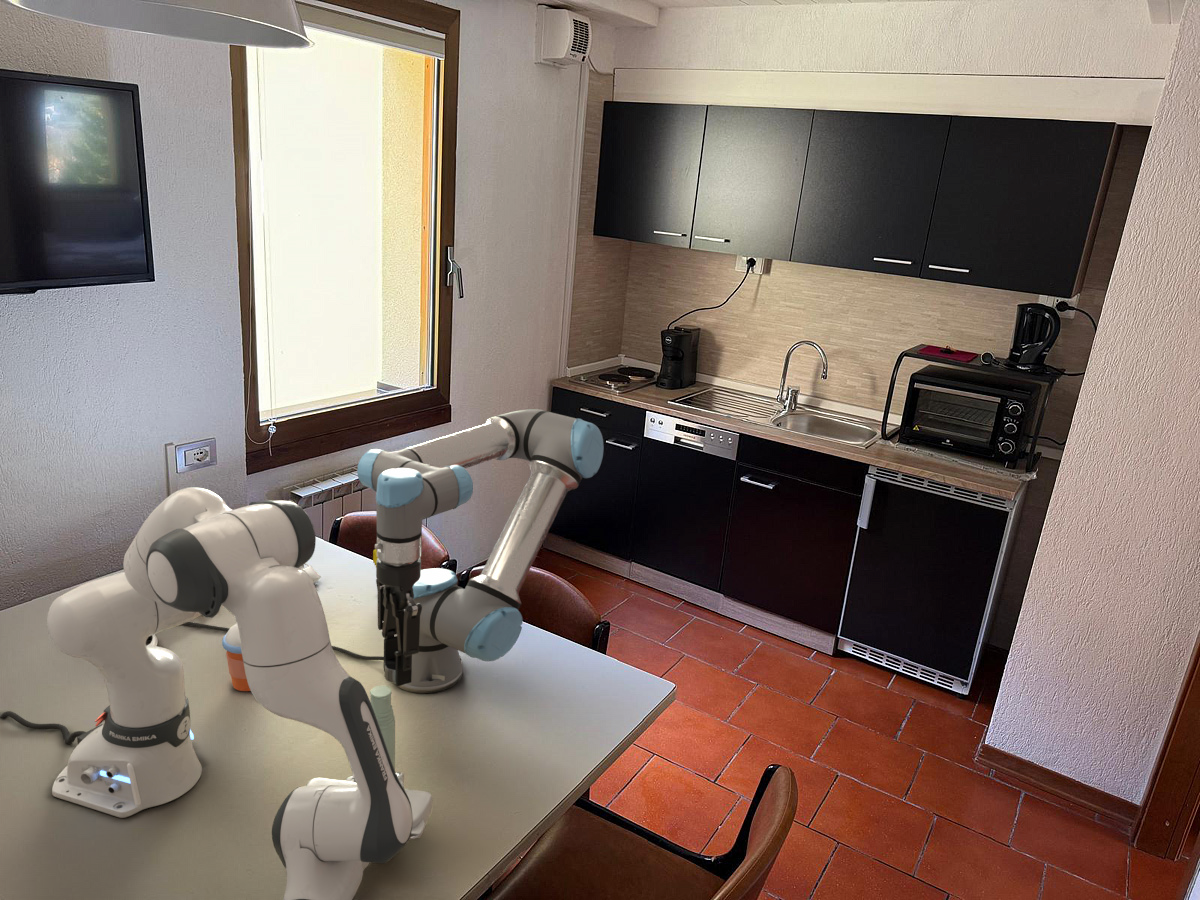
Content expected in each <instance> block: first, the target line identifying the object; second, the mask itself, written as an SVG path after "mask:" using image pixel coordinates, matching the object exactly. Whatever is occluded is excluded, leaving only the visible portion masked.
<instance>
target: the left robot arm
mask: <svg viewBox="0 0 1200 900" xmlns="http://www.w3.org/2000/svg"><path fill="white" fill-rule="evenodd" d="M315 529H316V528H315V526H314V523H313V521H312V519H311V517H310V516H309V514H308V513H307V512H306V511H305V510H304V508H302V507H301V506H299V504H297V503H296V502H293V501H291V500H282V499H281V500H279V499H278V500H261V501H251V502H249V504H248V505H245V506H242V507H239V508H235V509H232V508H230V507H229V506H228V505H227V503H226V501H225V500H224V499H223V498H222V497H221V496H219V495H218V494H217V493H216V492H214V491H211V490H209V489H206V488H202V487H197V486H196V487H184V488H181V489H178V490H177V491H174V492H173V493H171V494H170V495H169V496H167V497H166V498H165V499H164V500H162V501H161V502H160V503H159V504H158V505H157V506H156V507H155V508H154V509H153V510H152V511H151V513H150V514H149V515H148V517H147V518H146V519H145V520H144V521H143V523H142V525H141V527H140V528H139V530H138V531H137V533H136V534H135V537H134V538H133V540H132V542H131V543H130V545H129V547H128V549H126V552H125V554H124V557H123V566H122V567H123V571H121V572H118V573H115V574H112V575H108V576H105V577H102V578H101V577H100V578H98V579H95V580H91V581H88V582H85V583H83V584H81V585H79V586H77V587H75V588H73V589H70V590H69V591H67V592H65V593H64V594H61V595H60V596H57V597H56V598H55V599H54V600H53V601H52V603H51V604H50V607H49V608H48V612H47V615H46V630H47V634H48V636H49V639H50V640H51V642H52V643H53V645H54V646H55V647H56V648H57V649H58V650H60V651H61V652H62V653H64V654H66V655H67V656H70V657H73V658H77V659H82V660H84V661H86V662H88V663H90V664H92V665H93V666H94V667H96V668H97V669H98V670H99V672H100V673H101V675H102V677H103V679H104V683H105V687H106V692H107V698H108V705H107V707H106V708H105V709H103V713H101V715H99V716H98V717H97V718H96V719H95V721H94V723H96V724H95V727H93V728H91V729H90V730H88V731H85V730H76V731H73V732H72V733H71V734H70V732H69V729H68V727H66V726H65V725H64V724H60V723H35V722H31V721H28V720H27V719H25V718H23V717H22V716H20V715H19V714H18V713H16V712H13V711H11V710H7V711H4V712H2V713H1V715H0V719H6V718H11V719H12V720H13V721H15V722H17V723H18V724H20V725H22V726H23V727H25V728H28V729H31V730H58V731H60V732H61V733H62V736H63V741H64V743H65V744H67V745H71V744H73V743H74V741H76V742H77V743H76V744H77V745H76V746H75V747H74V749H73V750H72V752H71V754H70V756H69V758H68V762H67V765H66V766H65V767H63V769H62V770H61V772H59V773H58V775H57V776H56V778H55V780H54V781H53V784H52V789H51V793H52V796H53V797H55V798H58V799H61V800H64V801H67V802H70V803H73V804H76V805H78V806H79V805H80V806H83V807H85V808H89V809H92V810H94V811H95V810H96V811H98V812H101V813H104V814H108V815H110V816H114V817H117V818H120V819H123V818H128V817H131V816H133V815H135V814H137V813H139V812H141V811H143V810H146V809H148V808H149V809H150V808H153V807H157V806H161V805H164V804H167V803H169V802H172V801H174V800H176V799H178V798H180V797H181V796H183V795H184V794H186V793H188V792H189V791H190V790H191V789H192V788H194V786H196V784H197V783H198V782H199V780H200V778H201V776H202V772H203V768H202V764H201V762H200V761H199V758H198V756H197V754H196V751H195V748H194V745H193V741H192V740H194V739H195V736H194V733H193V732H192V730H191V710H190V702H189V698H188V697H187V695H186V686H185V671H184V664H183V662H182V660H181V658H180V657H179V656H178V655H177V653H175V652H174V651H173V650H170V649H168V648H165V647H161V646H158V645H157V646H147V645H148V644H147V642H146V640H147V638H148V637H149V636H151V635H156V634H159V633H162V632H165V631H167V630H170V629H172V628H175V627H178V626H181V625H184V624H183V623H186V622H192V621H193V620H195V619H196V618H198V617H200V616H203V617H204V618H208V619H212V618H214V617H216V616H217V615H218V614H219V612H220V610H221V608H222V607H223V608H225V609H226V610H227V611H228V612H229V613H230V614H231V615H232V616H233V618H234V620H235V622H236V623H237V625H238V629H239V636H240V644H241V651H242V657H243V663H244V668H245V674H246V678H247V682H248V685H249V688H250V690H251V691H250V692H251V694H252V697H253V698H254V699H255V701H256V702H257V703H258V704H259V705H260V706H261V707H262V708H264V709H265V710H267V711H268V712H270V713H272V714H274V715H276V716H278V717H281V718H284V719H288V720H290V721H291V720H292V721H294V722H298V723H302V724H305V725H308V726H311V727H314V728H316V729H318V730H320V731H323V732H325V734H328V735H330V736H331V737H333V738H334V740H336V741H337V742H338V743H339V744H340V745H341V747H342V748H343V750H344V752H345V755H346V758H347V761H348V764H349V768H350V769H351V772H352V775H350V776H349V777H347V778H346V779H345V780H343V779H335V778H327V777H319V776H316V777H314V778H311V779H309V780H308V781H307V783H306V784H305V786H298V787H296V788H294V789H293V790H292V791H291V792H289V793H288V795H287V796H286V797H285V798H284V800H283V802H282V803H281V804H280V806H279V808H278V810H277V812H276V814H275V816H274V819H273V823H272V826H271V839H272V844H273V848H274V850H275V852H276V854H277V856H278V858H279V859H280V861H281V863H282V865H283V867H284V869H285V871H286V873H285V874H286V884H285V890H284V895H283V899H282V900H353V899H354V897H355V895H356V893H357V892H358V889H359V887H360V885H361V883H362V880H363V877H364V876H363V875H364V871H365V869H366V868H367V867H368V866H369V865H370V863H374V864H383V865H384V864H386V863H388V862H389V861H391V860H392V859H393V858H394V857H396V856H397V855H398V854H399V853H400V852H401V851H402V850H403V849H404V848H405V846H406V845H407V844H408V843H409V842H411V840H416V839H420V838H421V837H422V836H423V834H424V832H425V829H426V825H427V823H428V821H429V820H430V817H431V815H432V813H433V796H432V795H431V793H430V791H427V790H420V789H411V788H405V785H404V781H405V773H404V772H400V771H399V772H398V771H396V769H395V770H394V767H393V764H392V761H391V758H390V756H389V753H388V750H387V747H386V744H385V741H384V738H383V735H382V733H381V730H380V727H379V724H378V721H377V718H376V716H375V713H374V710H373V708H372V705H371V699H370V698H369V695H368V693H367V691H366V689H365V687H364V685H363V684H362V683H361V681H359V680H357V679H356V678H354V677H352V676H351V675H350V674H349V673H348V672H347V671H346V669H345V668H344V667H343V665H342V664H341V663H340V661H339V660H338V658H337V656H336V653H335V652H334V651H335V650H333V649H332V646H333V645H332V642H331V637H330V632H329V626H328V623H327V618H326V615H325V611H324V607H323V604H322V601H321V598H320V596H319V593H318V590H317V587H316V586H315V583H313V581H312V579H311V577H310V576H309V575H308V574H307V573H306V572H305V571H303V570H301V569H299V567H301V566H302V565H304V566H305V564H307V563H308V561H310V560H311V558H312V557H313V555H314V553H315V551H316V550H315V549H316V542H317V541H316V540H317V537H316V536H317V535H316V530H315ZM102 723H103V724H102ZM75 739H76V740H75Z"/></svg>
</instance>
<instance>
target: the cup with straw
mask: <svg viewBox="0 0 1200 900" xmlns="http://www.w3.org/2000/svg"><path fill="white" fill-rule="evenodd" d="M229 628H230V629H229V630H228V632H226V633H225V634H224V635H223V637H222V640H221V645H222V647H223V649H224V650H225V656H226V661H227V667H228V673H229V675H230V679H231V684H232V687H233V688H234V690H236V691H240V692H251V690H250V688H249V685H248V682H247V678H246V674H245V668H244V663H243V657H242V651H241V644H240V636H239V629H238V625H237V622H236V623H234V624H233V625H232V626H230V627H229Z"/></svg>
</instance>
